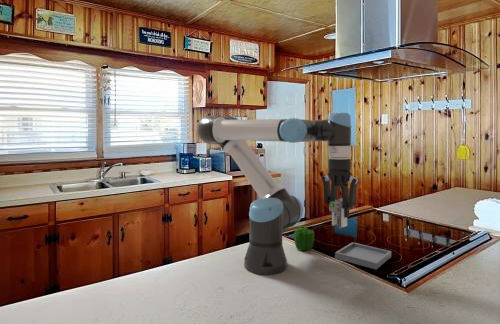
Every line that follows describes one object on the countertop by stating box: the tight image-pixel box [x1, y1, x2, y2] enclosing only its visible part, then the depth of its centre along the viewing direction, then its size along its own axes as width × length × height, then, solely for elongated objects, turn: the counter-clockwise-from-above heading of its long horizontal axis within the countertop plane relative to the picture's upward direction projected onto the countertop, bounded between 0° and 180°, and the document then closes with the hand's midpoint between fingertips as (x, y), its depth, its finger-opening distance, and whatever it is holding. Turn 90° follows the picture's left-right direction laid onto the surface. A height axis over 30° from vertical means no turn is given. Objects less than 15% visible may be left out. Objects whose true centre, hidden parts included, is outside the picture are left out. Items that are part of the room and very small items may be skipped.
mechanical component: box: [328, 197, 343, 230], centre depth 115 cm, size 3×10×10 cm, turn 134°
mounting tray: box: [334, 242, 392, 270], centre depth 125 cm, size 16×16×2 cm
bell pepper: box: [293, 224, 315, 251], centre depth 134 cm, size 8×8×10 cm
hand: (339, 225), depth 115 cm, fingers closed on mechanical component, 3 cm apart
